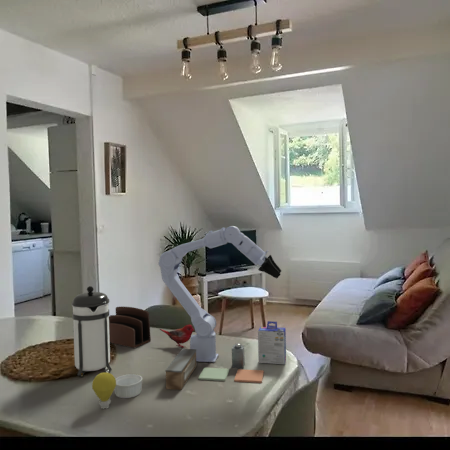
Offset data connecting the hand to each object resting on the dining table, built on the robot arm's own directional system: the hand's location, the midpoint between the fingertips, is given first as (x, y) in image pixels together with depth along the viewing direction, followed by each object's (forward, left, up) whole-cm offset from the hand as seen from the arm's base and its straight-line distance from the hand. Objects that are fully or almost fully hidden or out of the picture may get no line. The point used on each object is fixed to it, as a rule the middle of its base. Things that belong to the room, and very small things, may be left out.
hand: (279, 274), depth 156 cm
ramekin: (-46, -32, -33) cm, 64 cm away
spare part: (-15, -6, -32) cm, 36 cm away
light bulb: (-49, -42, -32) cm, 72 cm away
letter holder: (-67, +16, -33) cm, 76 cm away
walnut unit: (-32, -18, -32) cm, 49 cm away
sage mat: (-22, -15, -32) cm, 42 cm away
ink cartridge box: (-3, 0, -32) cm, 33 cm away
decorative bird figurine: (-43, +12, -32) cm, 55 cm away
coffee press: (-67, -15, -32) cm, 76 cm away
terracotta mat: (-10, -15, -32) cm, 37 cm away
